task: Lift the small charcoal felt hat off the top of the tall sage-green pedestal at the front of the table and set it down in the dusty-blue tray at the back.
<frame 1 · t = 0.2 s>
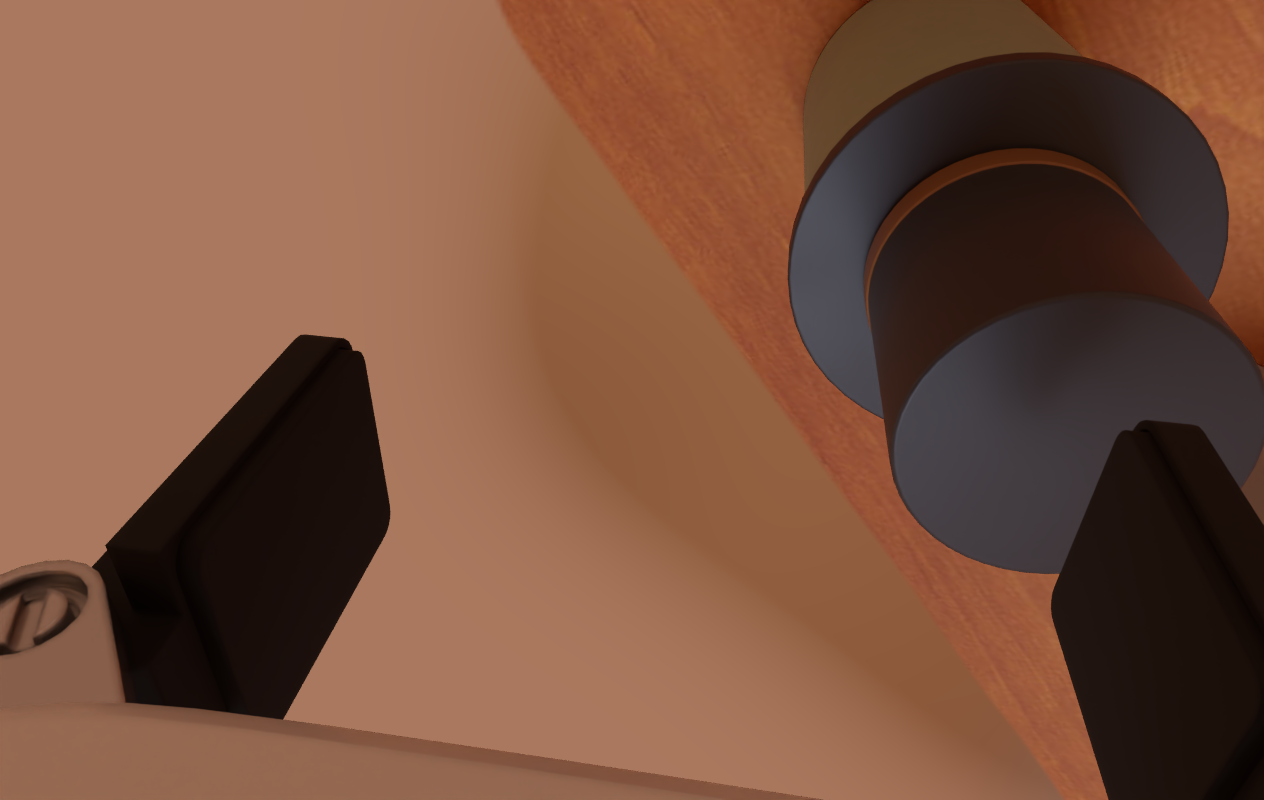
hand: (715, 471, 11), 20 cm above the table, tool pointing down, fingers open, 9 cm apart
hat: (991, 260, 19), point 11 cm above the table, touching pedestal
cup: (1189, 454, 33), on the table
pedestal: (927, 110, 28), on the table
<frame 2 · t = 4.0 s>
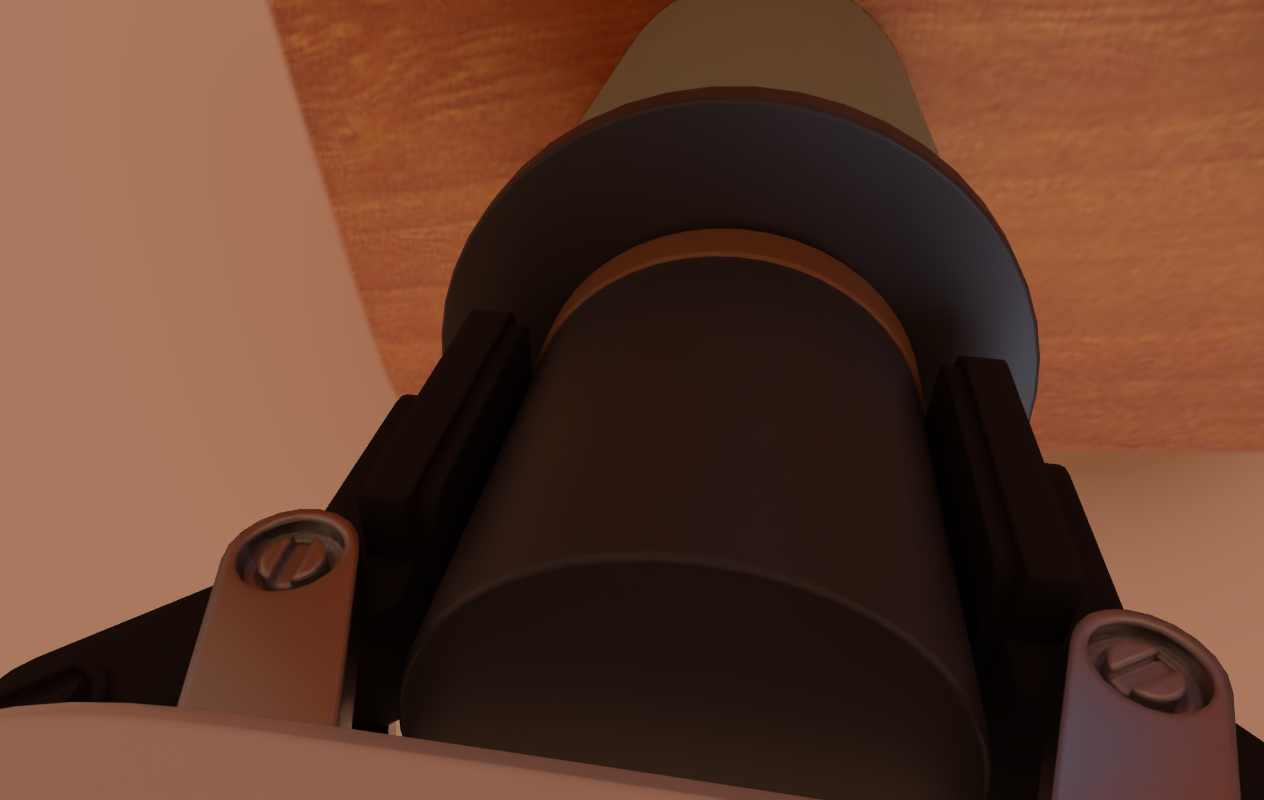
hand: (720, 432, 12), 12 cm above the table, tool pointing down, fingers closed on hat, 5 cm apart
hat: (727, 374, 13), point 11 cm above the table, touching gripper, pedestal
pedestal: (754, 139, 22), on the table
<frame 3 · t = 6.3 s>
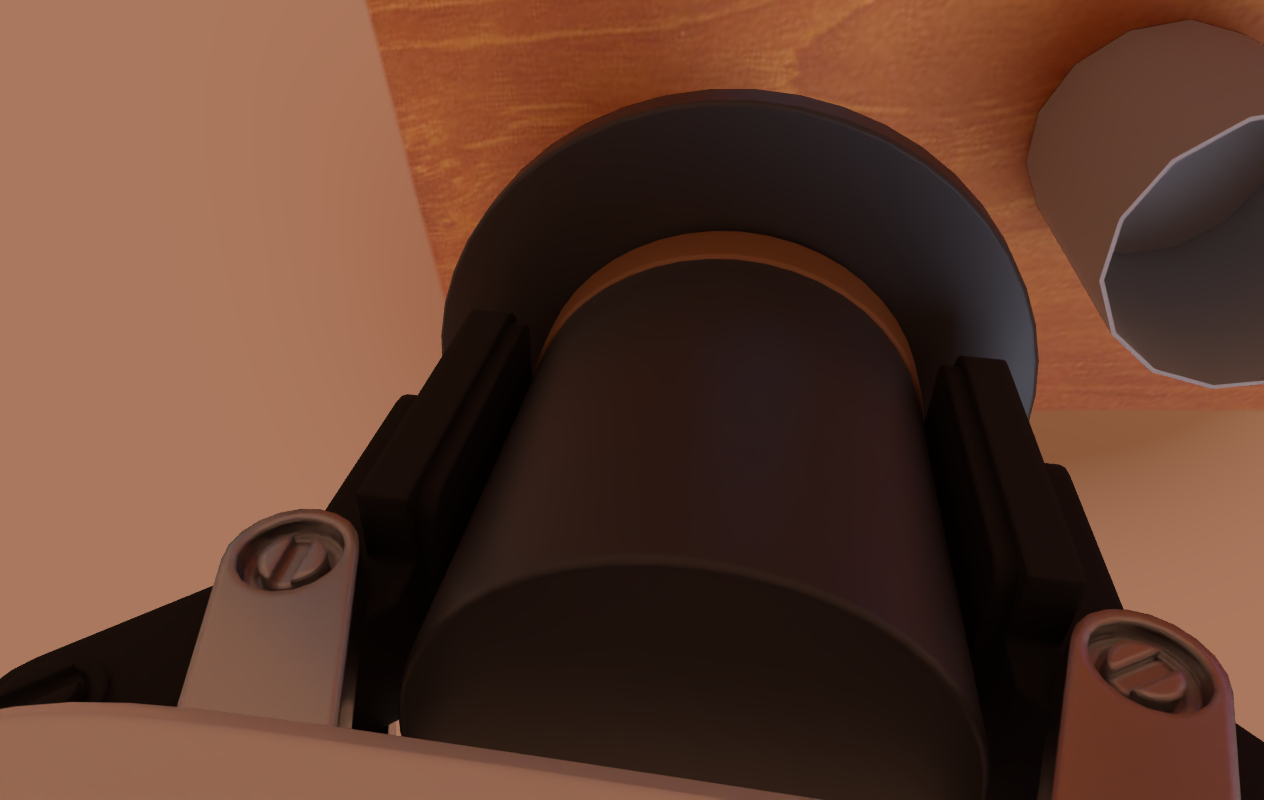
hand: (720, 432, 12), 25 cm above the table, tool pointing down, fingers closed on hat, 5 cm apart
hat: (726, 376, 13), point 23 cm above the table, touching gripper
cup: (1148, 141, 33), on the table
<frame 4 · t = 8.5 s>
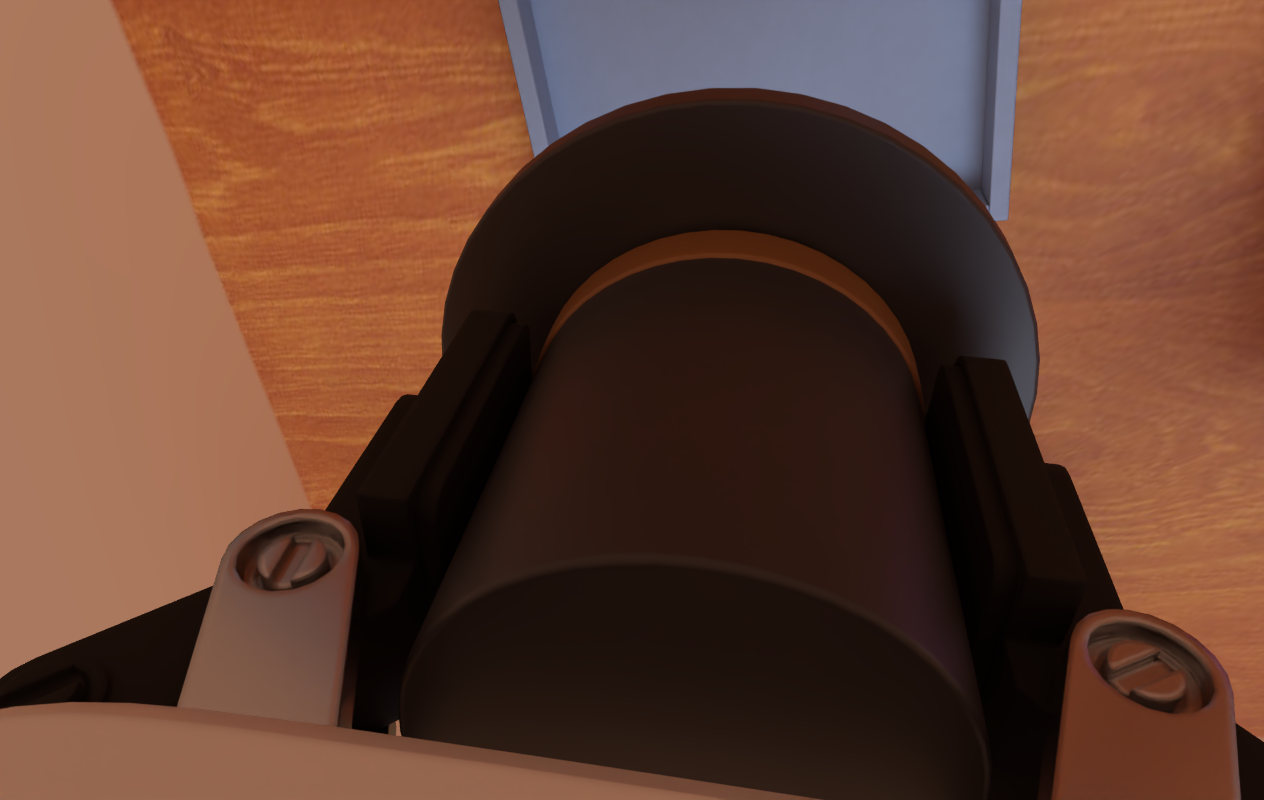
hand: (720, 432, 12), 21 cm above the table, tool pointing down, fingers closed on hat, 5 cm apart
hat: (727, 375, 13), point 19 cm above the table, touching gripper
tray: (758, 59, 29), on the table
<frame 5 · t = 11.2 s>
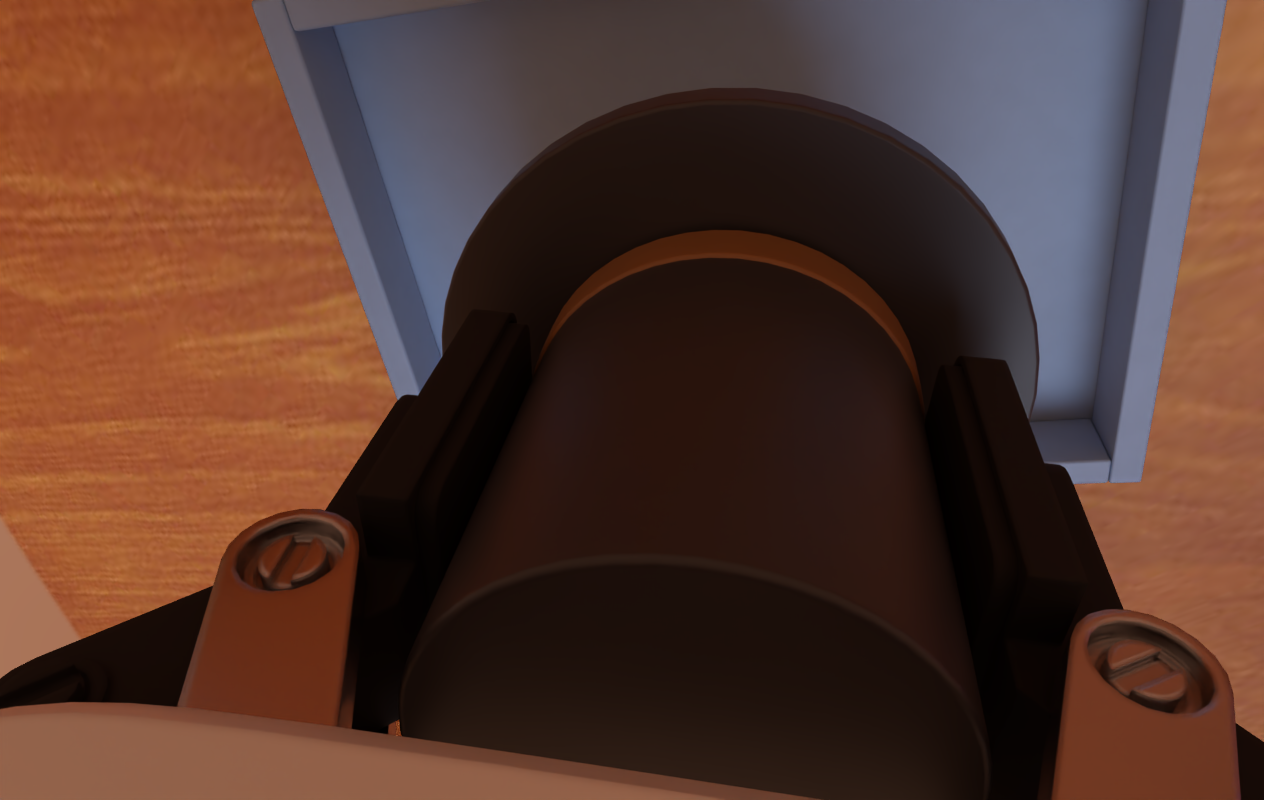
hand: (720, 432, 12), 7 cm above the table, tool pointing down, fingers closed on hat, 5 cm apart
hat: (727, 375, 13), point 6 cm above the table, touching gripper
tray: (737, 219, 18), on the table
when the fingers open (2 cm above the table, at t = 13.0 s): hat stays where it is, resting on tray.
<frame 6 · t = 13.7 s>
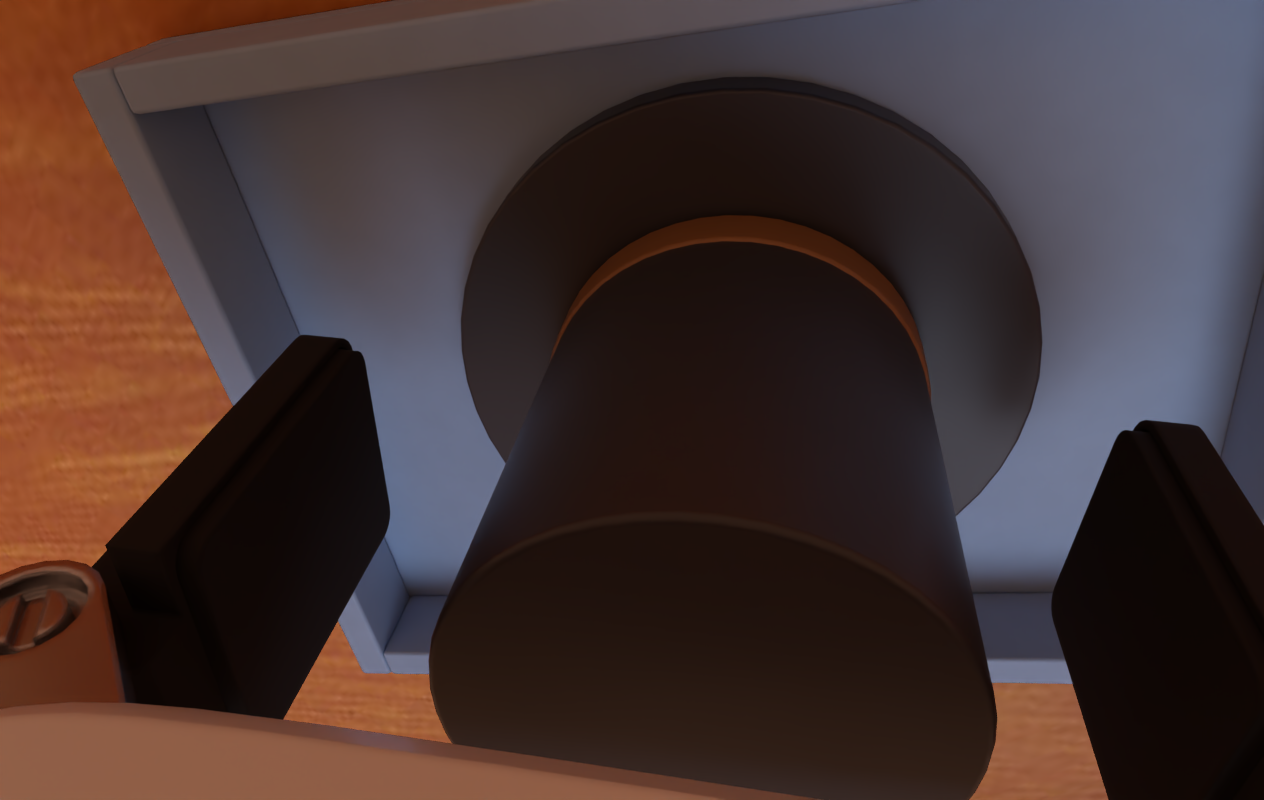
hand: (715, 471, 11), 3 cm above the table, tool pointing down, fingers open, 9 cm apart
hat: (738, 359, 14), resting on tray
tray: (735, 341, 14), on the table
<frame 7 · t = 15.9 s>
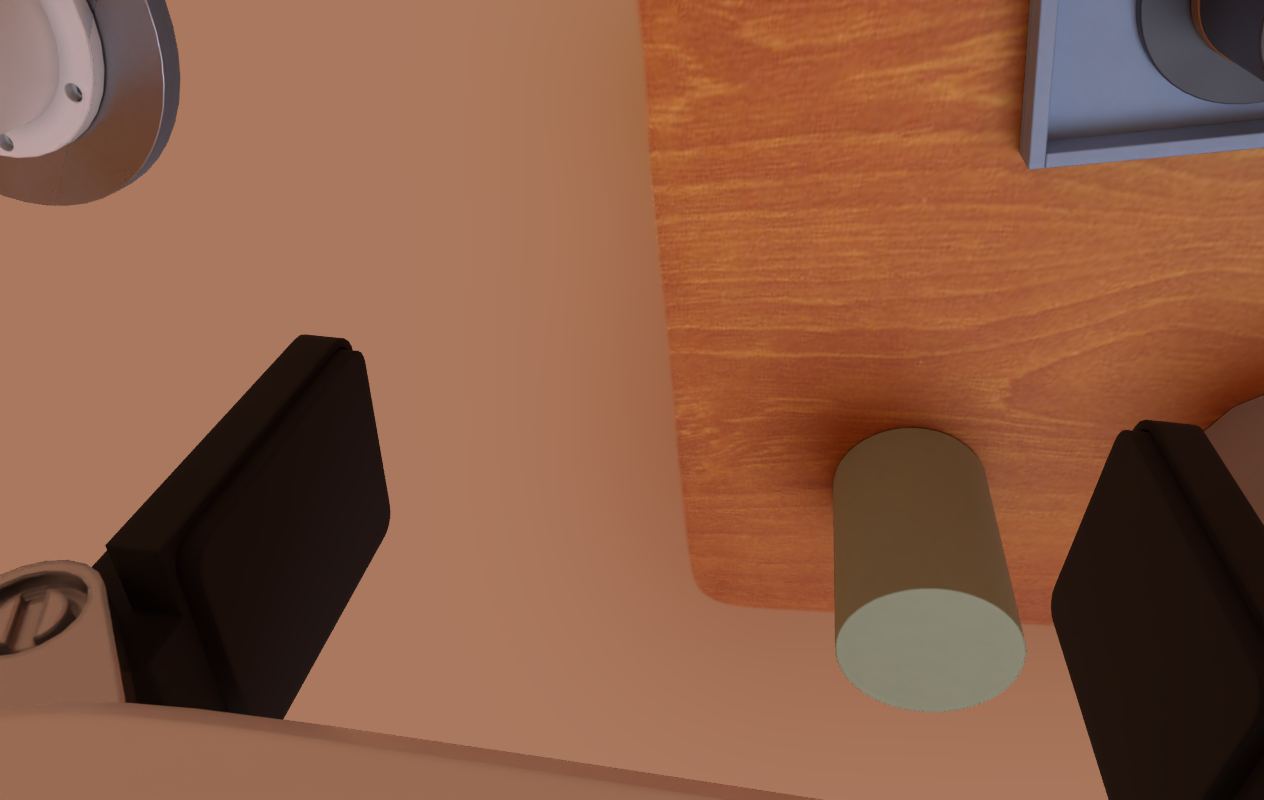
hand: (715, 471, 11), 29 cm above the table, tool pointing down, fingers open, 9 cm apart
pedestal: (908, 487, 46), on the table
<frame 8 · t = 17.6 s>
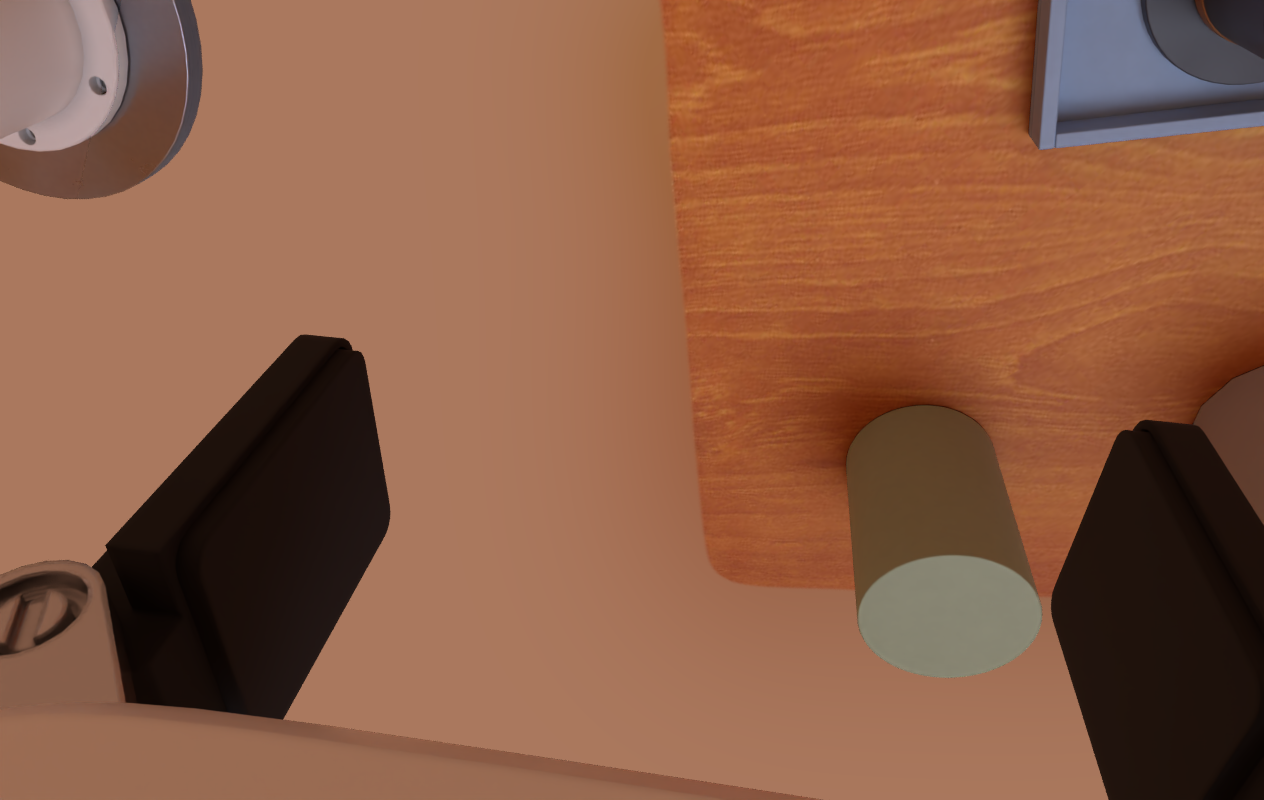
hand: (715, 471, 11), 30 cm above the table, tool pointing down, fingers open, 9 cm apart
pedestal: (919, 463, 47), on the table
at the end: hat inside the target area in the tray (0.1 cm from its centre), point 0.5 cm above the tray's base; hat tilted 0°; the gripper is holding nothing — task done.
